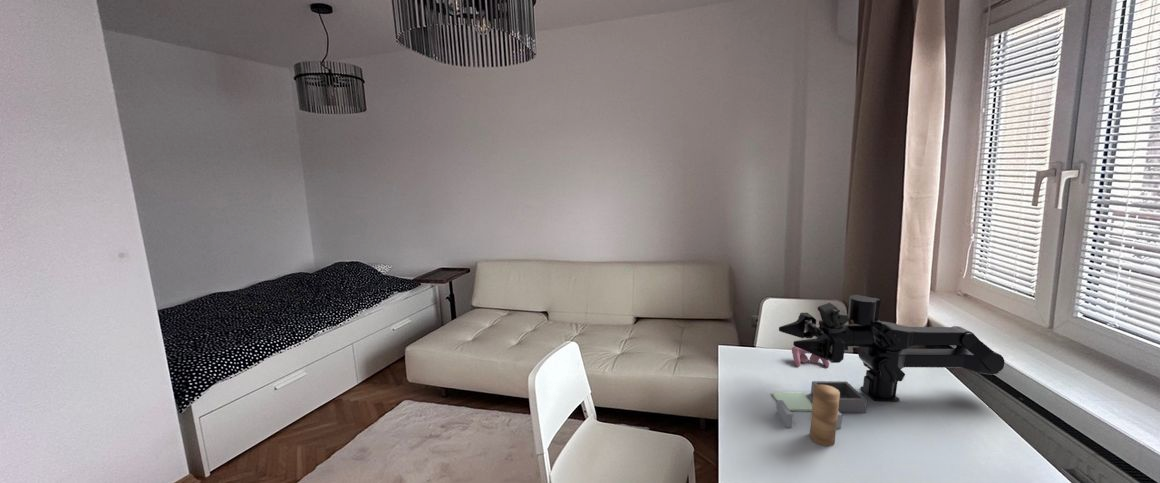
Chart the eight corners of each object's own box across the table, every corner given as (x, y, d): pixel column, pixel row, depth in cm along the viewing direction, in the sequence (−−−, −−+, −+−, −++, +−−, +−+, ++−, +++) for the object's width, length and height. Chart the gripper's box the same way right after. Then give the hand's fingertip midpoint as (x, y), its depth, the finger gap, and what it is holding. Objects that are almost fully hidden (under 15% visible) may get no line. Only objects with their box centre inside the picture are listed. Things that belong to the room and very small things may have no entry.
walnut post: (827, 432, 100) (832, 384, 98) (839, 446, 96) (844, 396, 93) (805, 432, 101) (809, 384, 98) (815, 446, 96) (820, 396, 93)
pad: (802, 394, 117) (802, 392, 116) (816, 411, 109) (816, 409, 109) (771, 393, 117) (771, 392, 117) (783, 410, 109) (783, 409, 109)
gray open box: (845, 393, 116) (846, 381, 116) (865, 412, 108) (866, 400, 107) (810, 393, 117) (811, 381, 116) (827, 412, 108) (829, 399, 107)
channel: (827, 413, 108) (829, 400, 107) (840, 428, 102) (842, 414, 101) (776, 413, 108) (777, 400, 108) (786, 427, 102) (787, 414, 102)
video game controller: (824, 367, 134) (821, 344, 136) (831, 367, 130) (828, 343, 132) (791, 366, 135) (788, 343, 137) (796, 366, 131) (794, 342, 133)
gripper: (831, 294, 120) (774, 295, 121) (873, 319, 102) (804, 320, 103) (828, 332, 123) (771, 332, 123) (868, 363, 104) (801, 363, 105)
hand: (786, 336), depth 114 cm, fingers open, 9 cm apart
